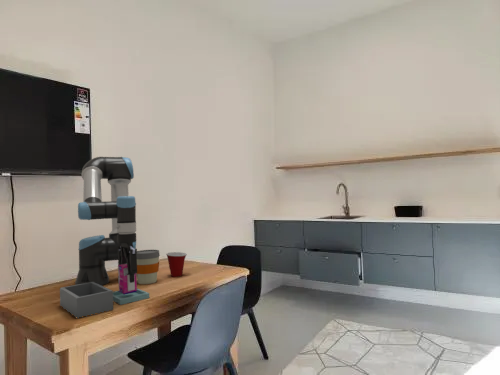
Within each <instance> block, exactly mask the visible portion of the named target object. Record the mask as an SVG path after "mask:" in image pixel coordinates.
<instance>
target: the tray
mask: <svg viewBox="0 0 500 375" xmlns="http://www.w3.org/2000/svg"><path fill="white" fill-rule="evenodd" d="M146 299H150V293H149V292H147V291H146V290H143V289H140V288H138V287H137V292H134V293H129V294H125V295H124V294H122V293H120V292H119V290H116V291H113V303H116V304H118V305H120V306H121V305H126V304H130V303H134V302H137V301H139V302H140V301H142V300H146Z"/></svg>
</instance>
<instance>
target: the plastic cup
mask: <svg viewBox="0 0 500 375" xmlns="http://www.w3.org/2000/svg"><path fill="white" fill-rule="evenodd" d="M165 254H166V256H167V257H166V258H167V260H168V261H167V262H168V266H169V267H168V268H169V271H170V276H171V277H172V278H176V277H177V278H178V277H182V276H183V272H184V266H185V261H186V260H185V259H186V256H187V252H181V251H173V252H172V251H171V252H166V253H165Z"/></svg>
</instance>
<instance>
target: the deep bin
mask: <svg viewBox="0 0 500 375" xmlns="http://www.w3.org/2000/svg"><path fill="white" fill-rule="evenodd" d="M113 292H114V290H112V289H110V288H108V287H106V286H103V285H99V284H97V283H95V282H89V283H83V284H78V285H75V284H74V285H68V286H62V287H59V306H60V307H61V306H62V307H63V308H62V307H61V308H62V309H64V310H65V309H66V310H67V311H66V310H65V311H66V312H68V313H69V312H70V313H71V314H70V313H69V314H70V315H72V314H73V315H74V316H75V317H74V316H73V315H72V316H73V317H74V318H76V317H77V318H78V319H80V318H79V317H82V316H86V317H88V316H87V315H90V316H92V315H91V314H94V315H96V314H95V313H98V314H101V313H100V312H102V313H105V312H104V311H106V312H109V310H110V311H114V301H113ZM77 318H76V319H77ZM82 318H83V317H82Z"/></svg>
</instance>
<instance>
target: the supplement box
mask: <svg viewBox="0 0 500 375" xmlns="http://www.w3.org/2000/svg"><path fill="white" fill-rule="evenodd" d="M127 274H128V267H127V264H121V265H118V264H117V275H118V280H117V281H118V291H119V292H120V293H122V294H124V295H125V294H129V293H134V292H137V288H138V285H137V284H138V281H137V274H136V273H135V274H134V275H135V290H131V291H128V284H127Z"/></svg>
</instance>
